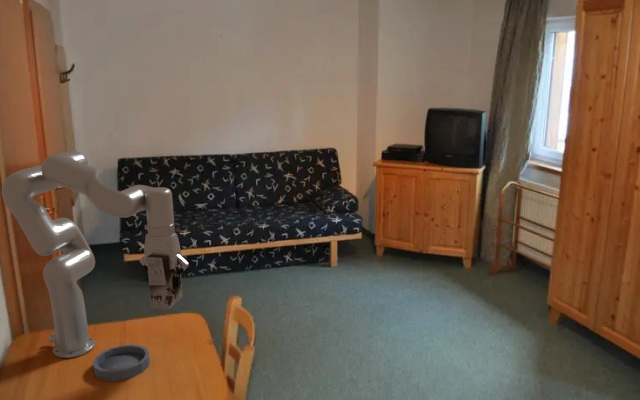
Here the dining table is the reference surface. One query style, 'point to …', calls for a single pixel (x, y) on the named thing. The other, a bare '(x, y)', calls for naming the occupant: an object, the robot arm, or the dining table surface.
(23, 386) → the dining table surface
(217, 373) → the dining table surface
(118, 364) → the bowl
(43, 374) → the dining table surface
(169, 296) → the coffee box
